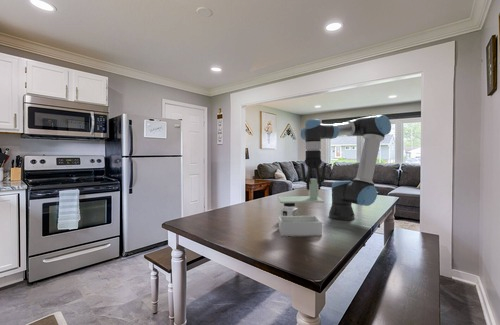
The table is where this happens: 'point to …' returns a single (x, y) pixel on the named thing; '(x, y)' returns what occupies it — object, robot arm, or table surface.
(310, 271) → the table surface
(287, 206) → the container
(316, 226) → the tub
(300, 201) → the green base with post
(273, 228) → the table surface
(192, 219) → the table surface
